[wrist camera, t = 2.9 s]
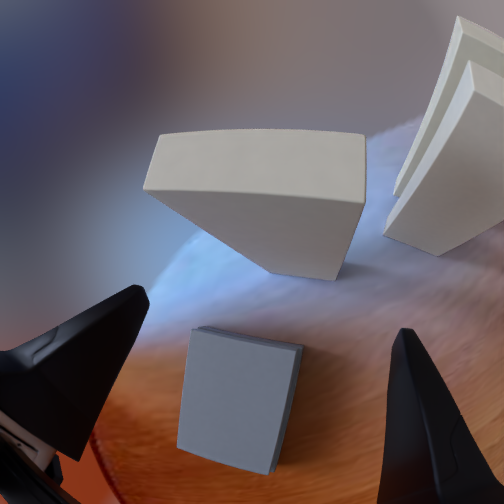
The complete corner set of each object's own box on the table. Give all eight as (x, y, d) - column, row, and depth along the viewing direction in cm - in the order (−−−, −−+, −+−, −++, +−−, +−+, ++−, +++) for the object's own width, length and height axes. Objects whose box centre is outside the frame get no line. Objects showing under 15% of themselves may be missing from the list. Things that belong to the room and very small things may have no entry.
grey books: (276, 465, 18) (270, 481, 16) (188, 440, 20) (174, 451, 18) (304, 345, 20) (301, 350, 17) (204, 325, 22) (189, 327, 19)
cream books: (437, 256, 18) (582, 166, 3) (382, 235, 20) (473, 89, 5) (448, 199, 19) (551, 71, 4) (396, 178, 20) (457, 14, 5)
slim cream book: (335, 281, 20) (366, 203, 5) (269, 272, 21) (141, 190, 6) (337, 260, 20) (366, 133, 5) (272, 252, 22) (159, 134, 7)
